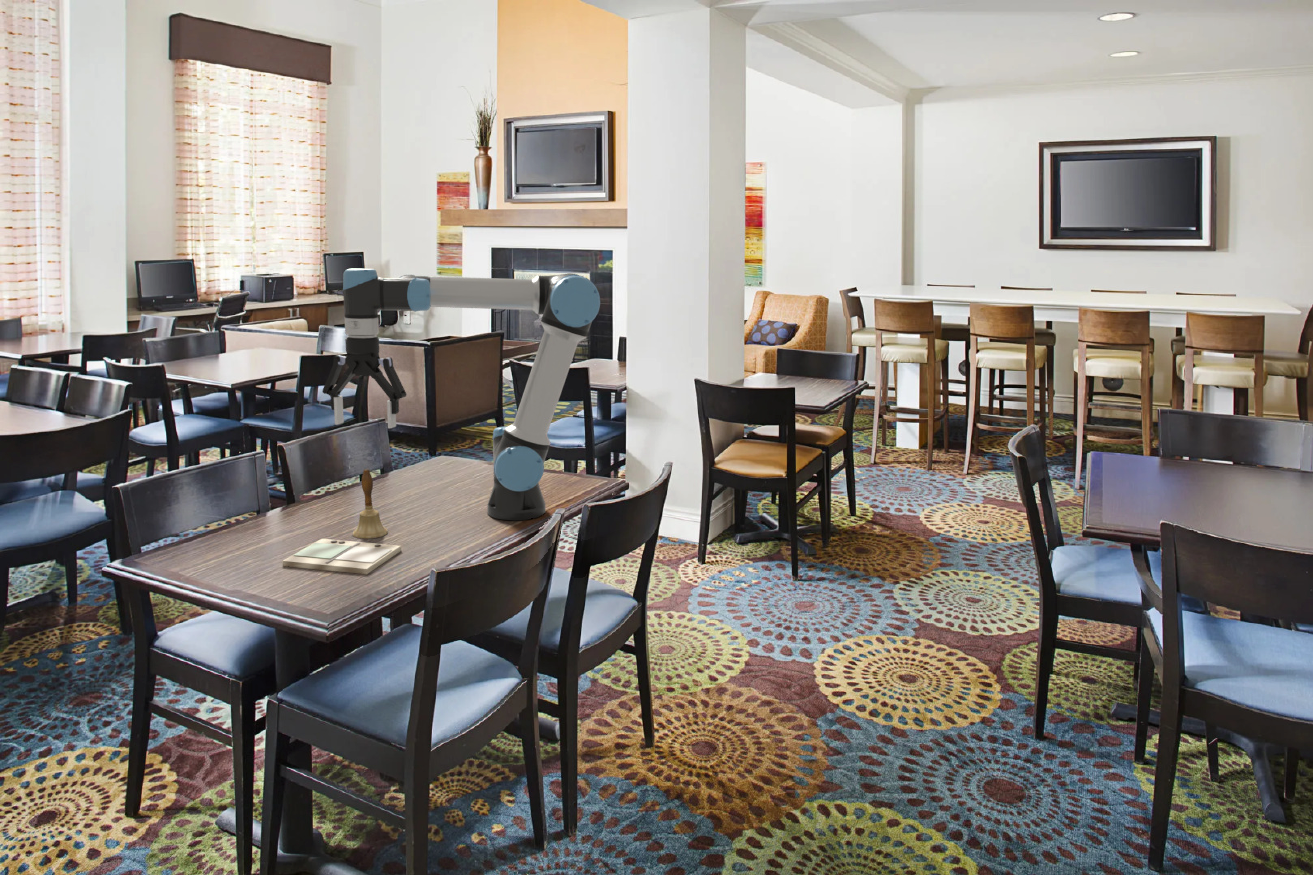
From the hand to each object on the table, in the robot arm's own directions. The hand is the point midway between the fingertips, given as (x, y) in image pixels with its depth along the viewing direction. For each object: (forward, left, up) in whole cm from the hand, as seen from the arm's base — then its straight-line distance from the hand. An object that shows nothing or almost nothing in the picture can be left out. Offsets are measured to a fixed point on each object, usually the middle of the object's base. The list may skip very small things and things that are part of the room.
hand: (365, 425), depth 228 cm
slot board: (-3, +18, -27) cm, 32 cm away
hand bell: (0, 0, -27) cm, 27 cm away
